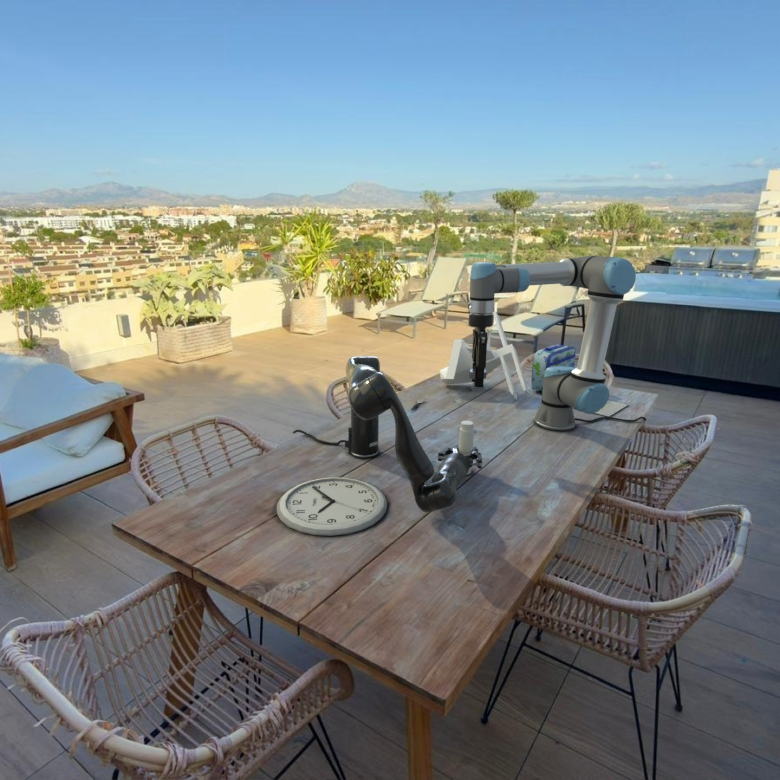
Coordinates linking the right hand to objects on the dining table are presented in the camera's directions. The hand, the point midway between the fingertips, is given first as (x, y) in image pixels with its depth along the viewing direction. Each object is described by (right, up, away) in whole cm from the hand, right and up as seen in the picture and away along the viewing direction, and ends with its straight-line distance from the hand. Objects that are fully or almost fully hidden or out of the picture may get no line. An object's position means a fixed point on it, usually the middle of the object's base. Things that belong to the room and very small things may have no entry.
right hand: (477, 384), depth 170 cm
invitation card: (+63, -9, +56) cm, 85 cm away
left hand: (-4, -20, -6) cm, 22 cm away
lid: (0, +4, -1) cm, 4 cm away
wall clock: (-44, -33, -28) cm, 62 cm away
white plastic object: (+13, -3, +73) cm, 74 cm away
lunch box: (+49, -2, +80) cm, 93 cm away
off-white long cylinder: (-5, -28, -6) cm, 29 cm away
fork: (-17, -9, +53) cm, 56 cm away
